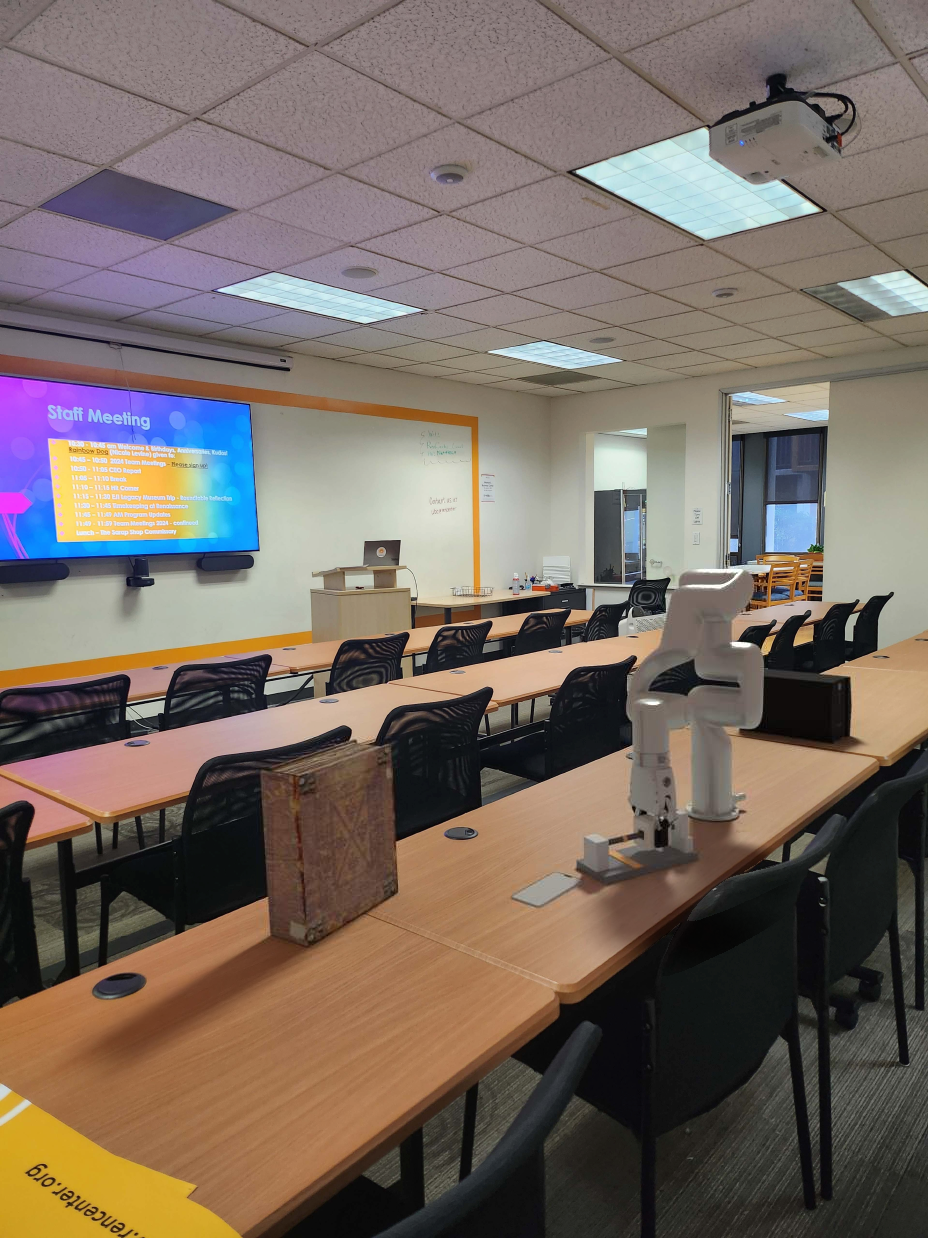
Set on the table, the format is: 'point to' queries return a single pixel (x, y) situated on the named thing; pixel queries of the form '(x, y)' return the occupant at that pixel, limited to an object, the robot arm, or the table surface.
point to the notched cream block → (647, 831)
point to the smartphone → (547, 889)
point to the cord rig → (636, 854)
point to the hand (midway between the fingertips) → (652, 841)
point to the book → (328, 839)
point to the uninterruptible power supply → (805, 706)
